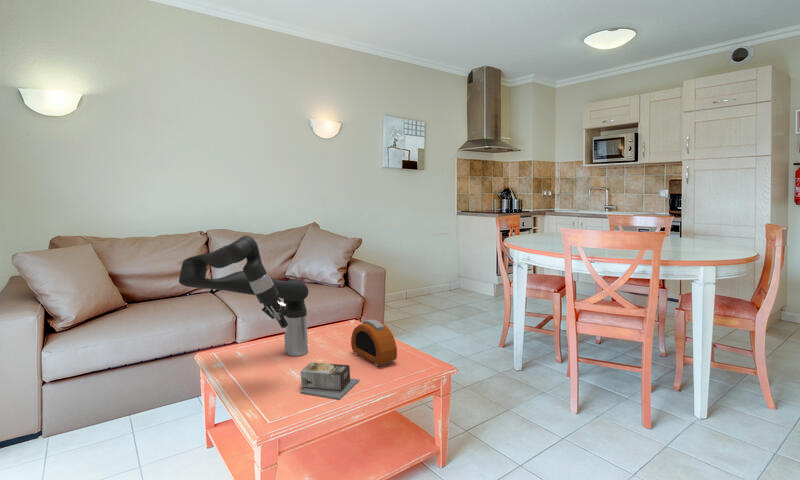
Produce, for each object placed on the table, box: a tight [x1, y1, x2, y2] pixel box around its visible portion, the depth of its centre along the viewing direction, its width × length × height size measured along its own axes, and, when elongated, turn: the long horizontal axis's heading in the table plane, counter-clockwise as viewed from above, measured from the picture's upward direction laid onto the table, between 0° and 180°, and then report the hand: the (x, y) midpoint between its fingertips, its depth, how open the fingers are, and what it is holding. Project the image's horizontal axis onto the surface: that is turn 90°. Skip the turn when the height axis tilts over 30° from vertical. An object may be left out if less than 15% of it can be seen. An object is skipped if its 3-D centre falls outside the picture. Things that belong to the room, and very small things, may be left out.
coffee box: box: [300, 361, 351, 391], centre depth 162 cm, size 9×6×16 cm
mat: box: [299, 377, 360, 401], centre depth 161 cm, size 16×16×1 cm
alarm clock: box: [350, 319, 398, 367], centre depth 188 cm, size 23×9×17 cm, turn 37°
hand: (285, 326), depth 164 cm, fingers closed
